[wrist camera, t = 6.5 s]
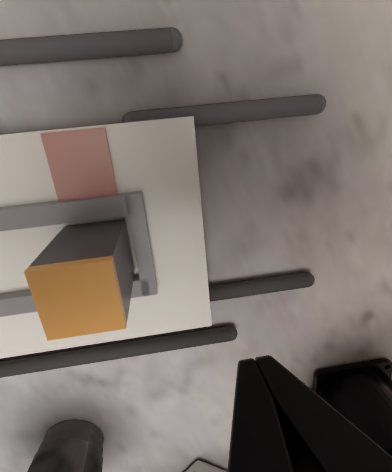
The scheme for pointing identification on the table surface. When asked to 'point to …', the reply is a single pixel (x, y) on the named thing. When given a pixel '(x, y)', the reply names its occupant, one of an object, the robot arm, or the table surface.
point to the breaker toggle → (83, 280)
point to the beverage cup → (70, 449)
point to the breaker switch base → (105, 209)
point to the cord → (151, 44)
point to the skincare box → (203, 467)
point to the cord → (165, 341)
